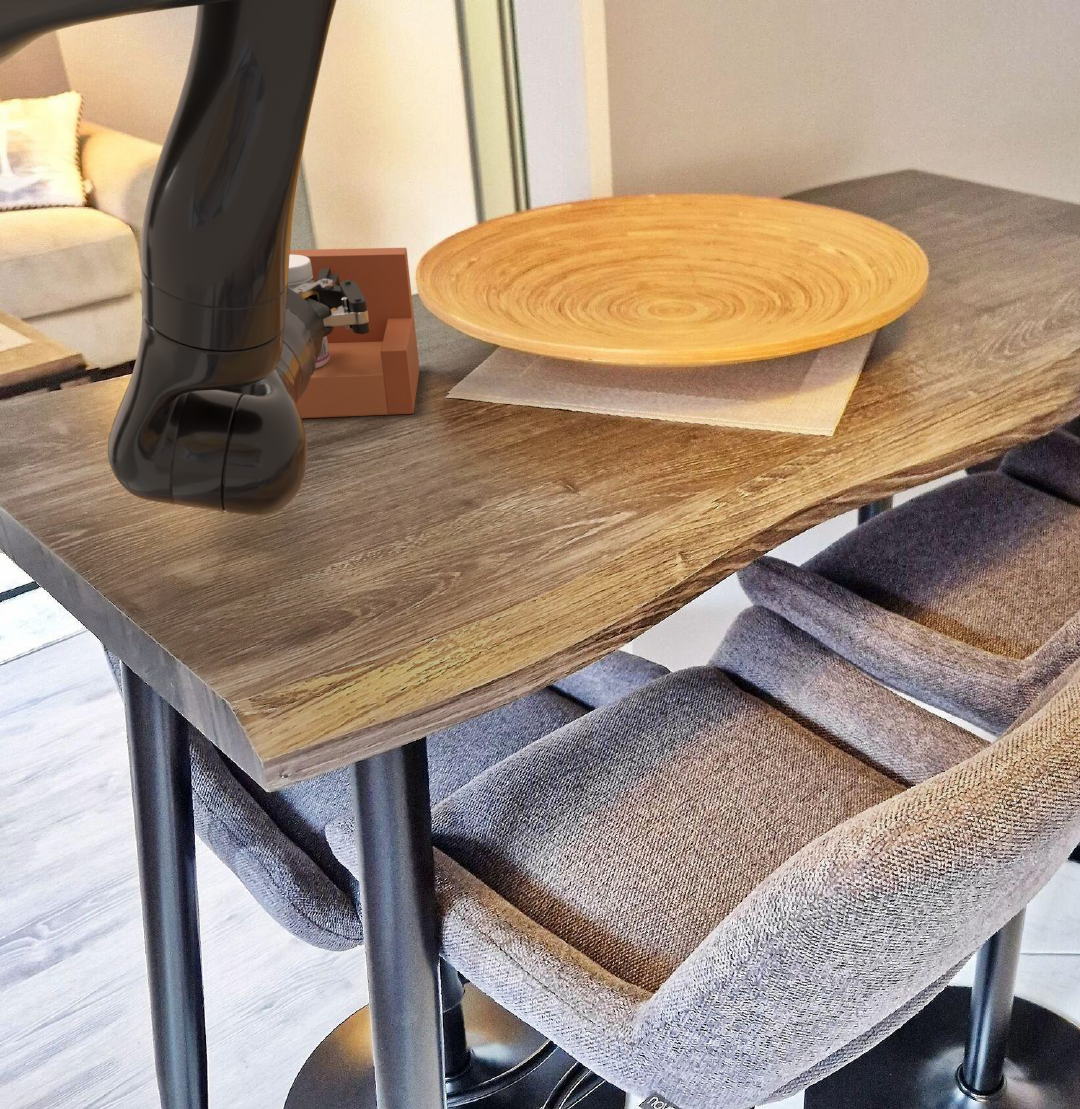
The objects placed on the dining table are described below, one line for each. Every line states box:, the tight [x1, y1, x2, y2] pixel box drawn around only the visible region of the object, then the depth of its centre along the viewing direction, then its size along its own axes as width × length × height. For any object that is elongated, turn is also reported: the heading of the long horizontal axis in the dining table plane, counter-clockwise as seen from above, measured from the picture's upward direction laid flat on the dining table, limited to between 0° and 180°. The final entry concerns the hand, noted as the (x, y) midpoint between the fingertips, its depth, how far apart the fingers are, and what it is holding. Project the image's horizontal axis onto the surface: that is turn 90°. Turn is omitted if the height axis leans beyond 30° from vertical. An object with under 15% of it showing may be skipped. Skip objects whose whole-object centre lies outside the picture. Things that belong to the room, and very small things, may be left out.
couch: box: [289, 247, 421, 419], centre depth 101 cm, size 18×10×11 cm, turn 100°
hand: (293, 281), depth 100 cm, fingers closed on pill bottle, 4 cm apart
